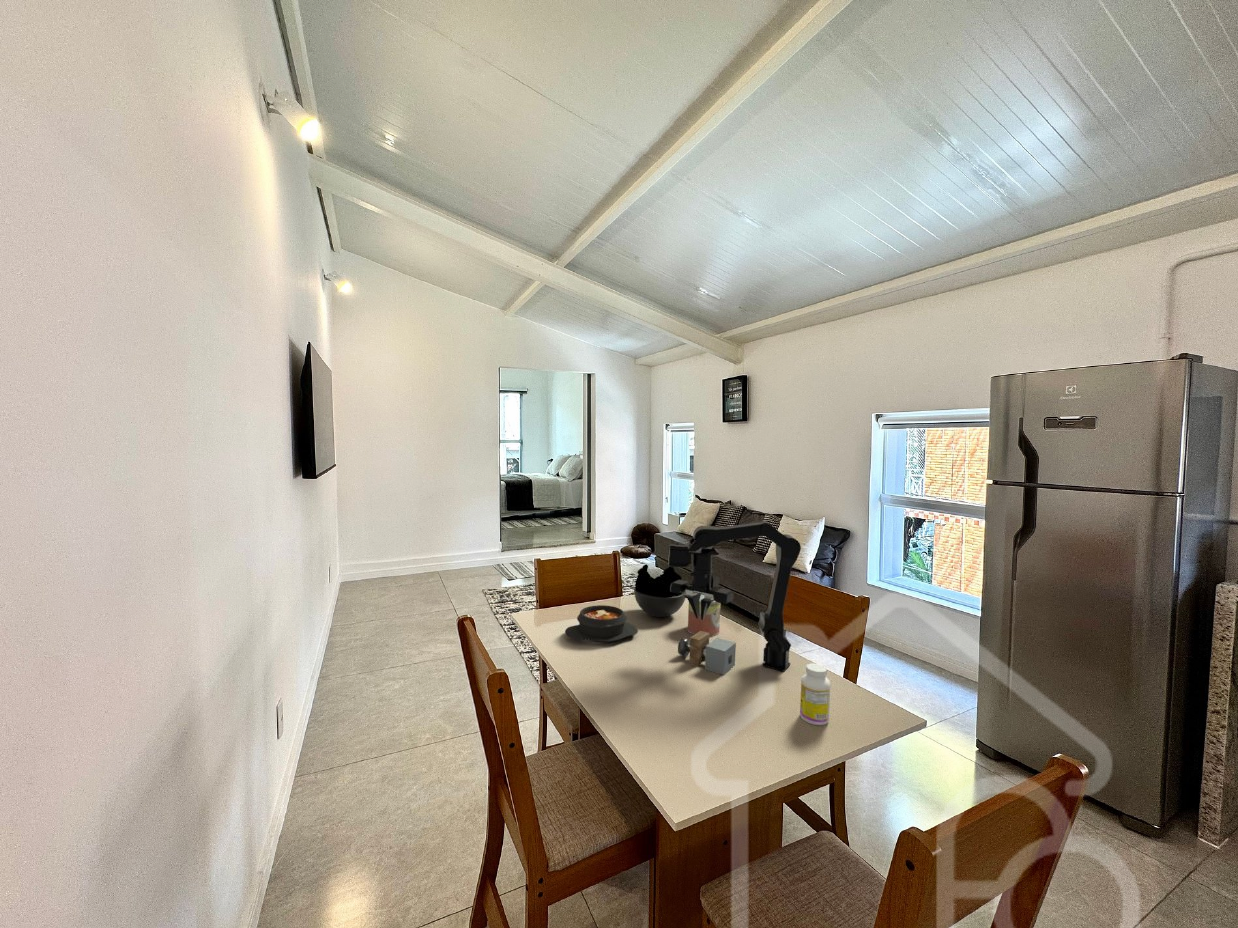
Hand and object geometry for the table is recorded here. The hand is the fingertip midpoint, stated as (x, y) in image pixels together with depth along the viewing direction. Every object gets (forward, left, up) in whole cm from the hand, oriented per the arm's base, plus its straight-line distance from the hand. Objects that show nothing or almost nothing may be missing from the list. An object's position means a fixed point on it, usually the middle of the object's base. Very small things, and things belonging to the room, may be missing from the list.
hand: (700, 618), depth 154 cm
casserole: (+35, +3, -13) cm, 38 cm away
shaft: (-1, 0, -13) cm, 13 cm away
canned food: (+10, -24, -13) cm, 29 cm away
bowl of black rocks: (+30, -27, -13) cm, 42 cm away
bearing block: (-7, 0, -13) cm, 15 cm away
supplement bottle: (-37, +12, -13) cm, 41 cm away
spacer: (0, 0, -13) cm, 13 cm away
